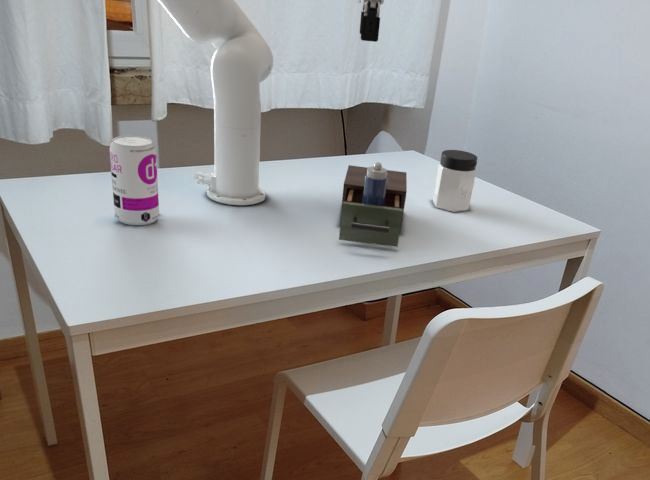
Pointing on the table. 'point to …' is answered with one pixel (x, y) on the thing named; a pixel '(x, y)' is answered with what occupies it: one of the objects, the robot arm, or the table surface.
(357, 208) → the drawer
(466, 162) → the jar
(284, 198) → the table surface
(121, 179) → the supplement can
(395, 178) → the cabinet
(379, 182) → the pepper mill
